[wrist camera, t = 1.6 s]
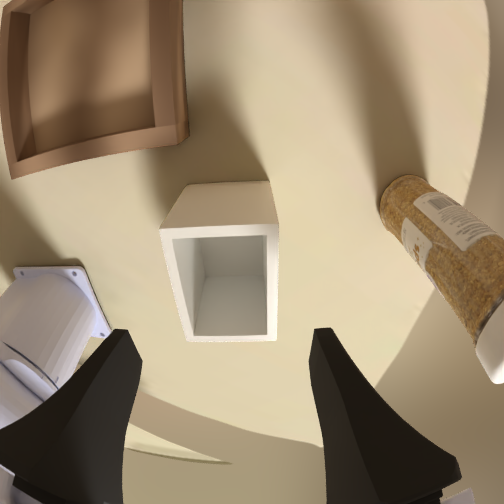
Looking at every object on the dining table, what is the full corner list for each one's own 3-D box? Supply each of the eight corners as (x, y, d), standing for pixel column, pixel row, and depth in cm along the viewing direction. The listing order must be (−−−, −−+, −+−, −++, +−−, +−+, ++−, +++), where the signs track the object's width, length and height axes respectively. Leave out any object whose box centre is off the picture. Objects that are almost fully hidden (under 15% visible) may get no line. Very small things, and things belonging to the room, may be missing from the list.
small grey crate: (200, 278, 20) (186, 341, 15) (186, 184, 17) (158, 229, 11) (270, 276, 20) (276, 340, 15) (269, 180, 17) (278, 223, 11)
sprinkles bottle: (367, 223, 18) (474, 394, 7) (393, 162, 16) (556, 295, 4) (415, 239, 19) (518, 382, 7) (440, 185, 16) (576, 306, 5)
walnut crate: (37, 165, 15) (11, 179, 13) (28, 10, 8) (3, 6, 6) (189, 136, 15) (177, 144, 12) (183, -50, 8) (172, -71, 6)
